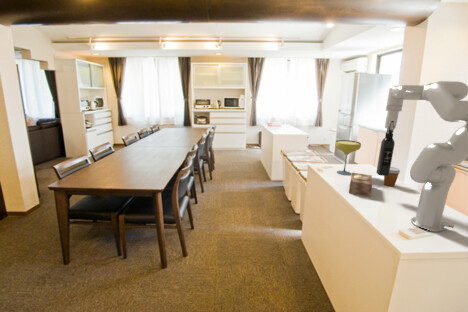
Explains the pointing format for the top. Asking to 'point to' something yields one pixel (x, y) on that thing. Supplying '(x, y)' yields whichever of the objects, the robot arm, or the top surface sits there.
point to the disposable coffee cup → (391, 177)
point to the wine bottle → (385, 157)
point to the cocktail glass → (347, 150)
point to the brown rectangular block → (360, 184)
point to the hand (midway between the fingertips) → (388, 139)
